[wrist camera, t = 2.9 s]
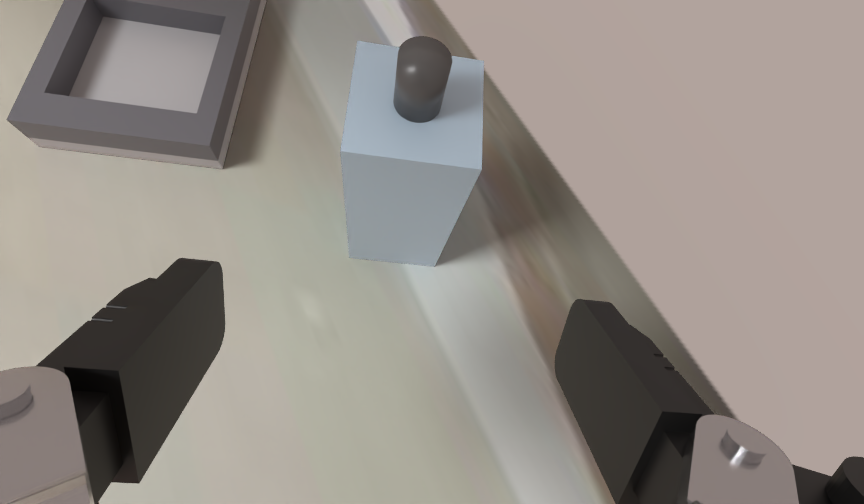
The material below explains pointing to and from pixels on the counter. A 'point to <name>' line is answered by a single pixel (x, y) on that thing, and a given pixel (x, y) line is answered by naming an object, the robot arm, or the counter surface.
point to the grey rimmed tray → (141, 78)
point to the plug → (409, 148)
